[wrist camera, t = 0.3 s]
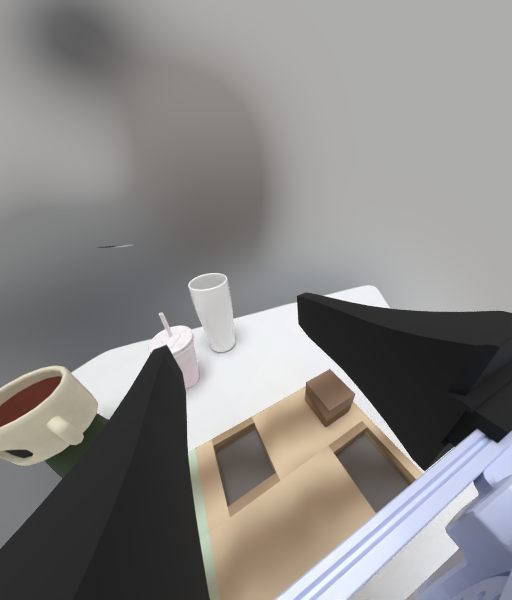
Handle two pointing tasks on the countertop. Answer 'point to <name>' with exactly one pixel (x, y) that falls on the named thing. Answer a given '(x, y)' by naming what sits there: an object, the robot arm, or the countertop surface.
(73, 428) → the character mug
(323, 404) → the block
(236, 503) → the wooden board
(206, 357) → the countertop surface
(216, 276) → the drinking glass
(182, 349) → the smoothie
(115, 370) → the countertop surface
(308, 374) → the countertop surface
